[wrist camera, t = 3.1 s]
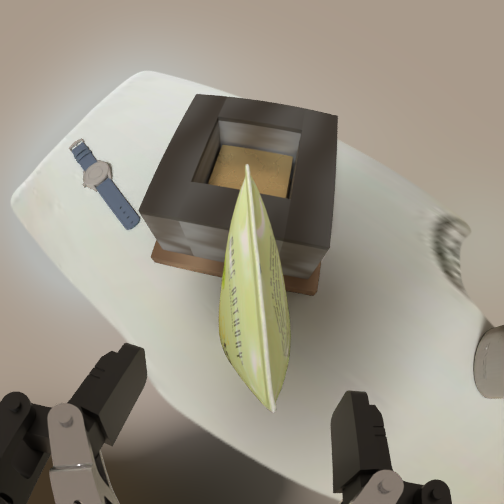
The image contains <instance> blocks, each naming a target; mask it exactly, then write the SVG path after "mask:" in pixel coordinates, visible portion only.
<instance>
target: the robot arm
mask: <svg viewBox="0 0 504 504" xmlns="http://www.w3.org/2000/svg"><path fill="white" fill-rule="evenodd" d="M474 376H475V382H476V386H477V388H478V390H479V392H480V393H481V394H482V395H483V396H484V397H485V398H489V399H501V398H504V325H502V326H499V327H495V328H492V329H490V330H489V331H487V332H486V333H485V335H484V336H483V337H482V339H481V341H480V343H479V345H478V348H477V351H476V355H475V362H474ZM146 379H147V368H146V359H145V351H144V349H143V348H141V347H138V346H135V345H132V344H129V343H125V344H124V345H123V346H122V348H121V349H120V350H119V351H118V353H116V352H113V351H111V352H109V353H107V354H106V355H104V356H102V357H101V358H100V360H99V361H98V362H97V364H96V365H95V368H93V369H92V370H91V372H90V374H89V375H88V376H87V377H86V379H85V380H84V381H83V383H82V384H81V385H80V387H79V388H78V390H77V391H76V392H75V394H74V395H73V396H72V398H71V399H70V400H69V402H68V403H62V404H58V405H56V406H54V407H53V408H51V407H45V406H41V405H36V404H33V403H31V402H30V400H29V399H28V397H27V396H26V395H25V394H23V393H21V392H11V393H9V394H7V395H6V396H5V397H4V398H3V399H2V401H1V402H0V504H27V501H28V499H29V497H30V495H31V493H32V491H33V488H34V486H35V484H36V482H37V480H38V478H39V476H40V474H41V472H42V470H43V468H44V466H45V464H46V462H47V460H48V458H49V456H50V454H52V460H53V468H51V469H50V480H51V485H52V489H53V494H54V498H55V502H56V504H119V502H118V500H117V498H116V496H115V494H114V492H113V489H112V487H111V484H110V481H109V478H108V474H107V471H106V468H105V465H104V461H103V458H102V454H101V451H100V449H101V447H102V445H103V444H104V443H106V444H108V445H111V446H113V444H114V443H115V441H116V439H117V437H118V435H119V433H120V431H121V429H122V427H123V425H124V423H125V421H126V420H127V418H128V416H129V414H130V412H131V410H132V408H133V406H134V404H135V402H136V401H137V399H138V397H139V395H140V393H141V392H142V390H143V388H144V386H145V383H146ZM385 435H386V433H385V428H384V423H383V418H382V415H381V413H380V412H379V410H378V409H377V407H376V406H375V405H369V401H368V396H367V393H366V392H360V391H346V392H345V394H344V396H343V397H342V399H341V401H340V403H339V404H338V406H337V408H336V409H335V411H334V413H333V415H332V419H331V440H332V463H333V493H343V499H342V500H341V501H340V502H339V503H338V504H452V501H451V495H450V490H449V487H448V486H447V484H446V483H445V482H443V481H441V480H431V481H429V482H428V483H426V484H425V485H420V484H414V483H409V482H405V481H403V480H402V478H401V477H400V476H399V475H398V474H397V473H396V472H394V471H393V469H392V466H391V460H390V454H389V448H388V443H387V438H386V437H385Z"/></svg>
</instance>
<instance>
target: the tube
mask: <svg viewBox="0 0 504 504" xmlns="http://www.w3.org/2000/svg"><path fill="white" fill-rule="evenodd" d="M219 335H220V340H221V344H222V347H223V350H224V352H225V355H226V356H227V358H228V360H229V361H230V363H231V364H232V366H233V367H234V369H235V370H236V372H237V373H238V374H239V376H240V377H241V379H242V380H243V381H244V382H245V384H246V385H247V386H248V388H249V389H250V390H251V391H252V392H253V393H254V395H255V396H256V397H257V398H258V399H259V400H260V402H261V403H262V404H263V405H264V406H265V407H266V408H267V409H268V410H270V411H271V412H275V411H276V400H277V398H278V395H279V393H280V391H281V388H282V385H283V382H284V378H285V375H286V371H287V367H288V361H289V356H290V339H291V334H290V318H289V311H288V303H287V296H286V290H285V284H284V278H283V272H282V267H281V262H280V257H279V253H278V249H277V245H276V241H275V237H274V234H273V230H272V227H271V224H270V221H269V218H268V214H267V211H266V208H265V206H264V203H263V201H262V198H261V195H260V193H259V190H258V188H257V186H256V184H255V182H254V180H253V178H252V177H251V174H250V167H249V165H248V164H246V166H245V179H244V181H243V184H242V187H241V189H240V192H239V195H238V198H237V202H236V205H235V209H234V213H233V216H232V220H231V225H230V230H229V235H228V240H227V247H226V253H225V261H224V269H223V276H222V284H221V294H220V305H219Z"/></svg>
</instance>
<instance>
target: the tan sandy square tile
mask: <svg viewBox="0 0 504 504" xmlns="http://www.w3.org/2000/svg"><path fill="white" fill-rule="evenodd" d="M292 160H293V157H292V156H287V155H282V154H277V153H272V152H266V151H260V150H254V149H248V148H242V147H235V146H228V145H222V147H221V150H220V153H219V155H218V158H217V161H216V163H215V166H214V169H213V172H212V174H211V177H210V180H209V183H208V184H210V185H216V186H222V187H228V188H234V189H239V190H240V189H241V187H242V184H243V181H244V179H245V166H246V164H248V165H249V167H250V174H251V177H252V178H253V180H254V182H255V184H256V186H257V188H258V190H259V193H261V194H267V195H272V196H277V197H282V198H286V194H287V188H288V183H289V177H290V171H291V166H292Z"/></svg>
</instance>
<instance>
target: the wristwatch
mask: <svg viewBox="0 0 504 504" xmlns="http://www.w3.org/2000/svg"><path fill="white" fill-rule="evenodd" d="M81 141H83V140H82V139H79V140H77V141H75V142H74V143H73V144H72V145H71V146H70V147H69V149H70V150H71V148H73V147H74V146H75V145H76V146H77V144H78V143H79V142H81ZM71 152H72V153H73V154H74V157H75V159H76V161H77V162H78V163H79V164H80V165H81V167H82V168H83V170H84V171H83V175H84V176H83V182H84V183H85V184H84V183H83V186H84V187H86V186H87V187H88V188H90V189H93V190H95V191H96V192H97V191H98V192H99V193H100V195H101V196H102V198H103V199H104V200H105V202H106V203H107V204H108V206H109V207H110V208H111V210H112V211H113V213H114V214H115V215H116V217H117V218H118V219H119V220H120V222H121V223H122V224H123V226H124V227H125V228H126V229H127V230H129V229H132V228H133V227H135V226H136V225H137V224H138V223H139V221H140V218H139V216H138V215H137V214H136V212H135V211H134V210H133V208H132V207H131V206H130V204H129V203H128V202H127V201H126V199H125V198H124V197H123V195H122V194H121V193H120V191H119V190H118V189H117V187H116V186H115V185H114V183H113V182H112V176H111V169H110V167H109V165H108V164H107V163H106V162H101V161H99V160H96V159H95V158H94V156H93V155H92V152H91V151H90V150H89V148H88V147H87V146H86V145H85V144H84V142H82V143H81V144H80V145H78V146H77V147H76V148H74V149H73V150H72V151H71ZM108 177H109V178H108Z"/></svg>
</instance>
